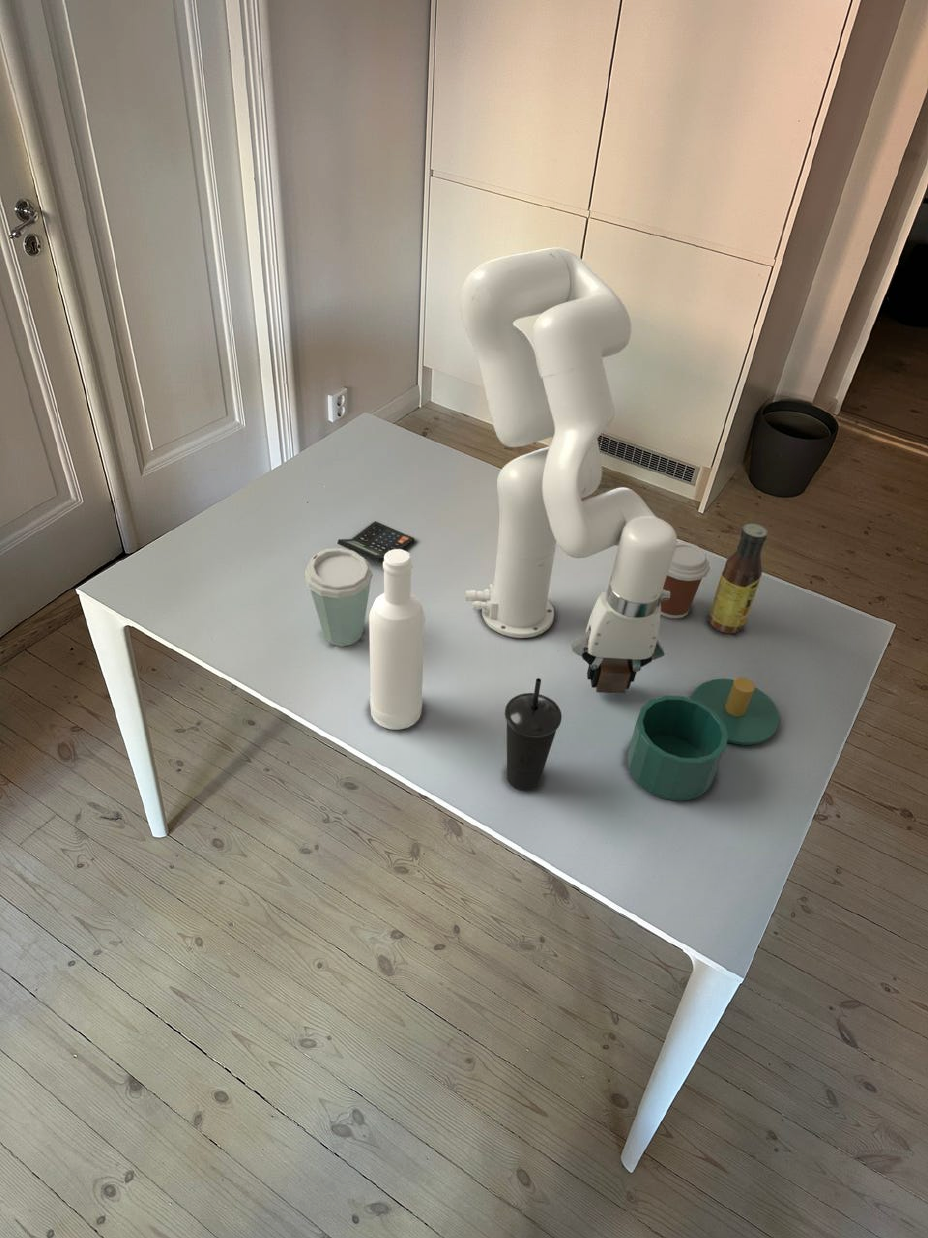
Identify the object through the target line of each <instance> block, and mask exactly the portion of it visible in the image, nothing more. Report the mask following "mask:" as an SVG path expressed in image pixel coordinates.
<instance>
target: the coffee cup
mask: <svg viewBox="0 0 928 1238" xmlns="http://www.w3.org/2000/svg"><path fill="white" fill-rule="evenodd" d="M710 570H711V566H710V561H709V559H708V558H707V555H706V553H705V551H704V550H703V548H701V547H699V546H698V545H697V544H695V543H692V542H687V541H677V543H676V547H675V551H674V554H673V557H672V561H671V564H670V567H669V570H668V574H667V577H666V580H665V583H664V587H663V590H665V591H670V599H669V600H662V601H661V602H660V605H661V616H663V617H666V618H670V619H681V618H684V617H685V616H687V615H688V614H689V612H690V609H691V607H692V604H693V602H694V599H695V597H696V594H697V592H698V589H699V587H700V586H701V585H700V584H701V582H702V579H703V578H705V577H707V575H708V574H709V572H710Z"/></svg>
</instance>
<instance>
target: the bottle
mask: <svg viewBox="0 0 928 1238" xmlns="http://www.w3.org/2000/svg"><path fill="white" fill-rule="evenodd" d="M382 569H383V592H382V593H380V595H378V596H377V597H376V598H375V600H374V602H373V604H372V606H371V608H370V611H369V614H368V624H369V625H368V627H369V629H368V631H369V671H370V672H369V677H370V678H369V679H370V680H369V681H370V682H369V684H370V695H369V705H370V717H372V719H373V721H374V722H375V723H376V724H378V726H380V727H382V728H385V729H388V730H395V731H396V730H397V731H398V730H404V729H409V728H410V727H411V726H412V727H413V726H414V725H415V724H416V723H418V721H419V720H420V717H421V715H422V708H423V683H424V682H423V680H424V653H425V629H426V628H425V624H426V617H425V611H424V608H423V606H422V603H421V602H420V600H419V598H418V596H416V595H414V594H413V593H412V592H411V591H412V569H413V561H412V555H411V554H410V553H409V552H408V551H406V549H405V550H401V549H394V550H391V551H388V552H387V553H386V554H385V556H384V562H382Z"/></svg>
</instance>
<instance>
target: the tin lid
mask: <svg viewBox="0 0 928 1238" xmlns="http://www.w3.org/2000/svg"><path fill="white" fill-rule="evenodd" d="M690 699H693V700H696V701H699V702H701V703H702V704H704V705H706V706H707V707H709V708H710V709H712V710H713V711H715V713H716V714H717V715H718V716H719V717H720V719H721V720H722V721H723V722H724V724H725V727H726V731H727V734H728V739H727V743H731V744H735V745H744V746H745V745H746V746H747V745H750V746H751V745H757V744H761V743H763V742H766V741H767V740H769V739H771V738H772V737H773V736H774V734H775V733H776V732H777V730H778V727H779V723H780V714H779V711H778V708H777V707H776V705H775V704H774V702H773V701H772V700H771V698H770V697H769V696H768V695H766V694H765V693H764V692H763V691H761V690H760V689H758V688H757V687H756V685H755V683H754V682H753V680H750V679H749V678H746V677H737V678H735V679H732V678H714V679H710V680H707V681H705V682H703V683H701V684H700V685H698V687H696V688H695V690H694V691H693V693H692V696H691V698H690Z"/></svg>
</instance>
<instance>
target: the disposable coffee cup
mask: <svg viewBox="0 0 928 1238" xmlns="http://www.w3.org/2000/svg"><path fill="white" fill-rule="evenodd" d="M372 578H373V571H372V568H371V566H370V563H369V562H368V560H367V559H365V557H364V556H363V555H361V554H359V553H357V552H354V551H352V550H350V549H348V548H344V547H343V548H342V547H331V548H324V549H322V550H320V551H319V552H316V553H315V554H313V556H312V557H311V558H310V560H309V562H308V564H307V568H306V569H305V572H304V579H305V582H306V585H307V587H308V589H309V590H310V593H311V596H312V601H313V603H314V606H315V611H316V615H317V617H318V621H319V624H320V627H321V631H322V634H323V636H324V638H325V639H326V641H327V642H328V643H330V644H331V645H333V646H339V647H346V646H351V645H353V644H355V643H356V642H358V641H359V640H360V638H361V636H362V634H363V633H364V630H365V629H364V628H365V621H366V615H367V608H368V602H369V596H370V595H369V594H370V589H371V588H370V587H371V583H372V582H371V581H372Z"/></svg>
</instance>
